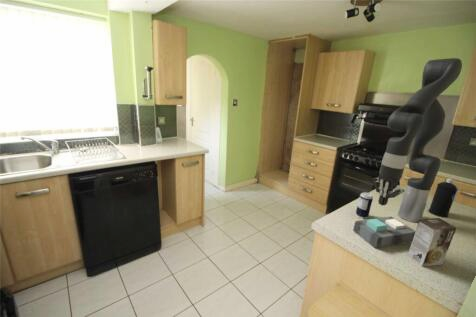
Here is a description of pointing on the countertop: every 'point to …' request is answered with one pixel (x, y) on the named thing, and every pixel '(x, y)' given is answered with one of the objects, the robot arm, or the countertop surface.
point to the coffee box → (431, 241)
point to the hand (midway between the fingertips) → (381, 204)
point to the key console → (384, 234)
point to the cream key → (395, 223)
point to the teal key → (376, 225)
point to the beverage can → (364, 205)
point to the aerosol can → (443, 198)
